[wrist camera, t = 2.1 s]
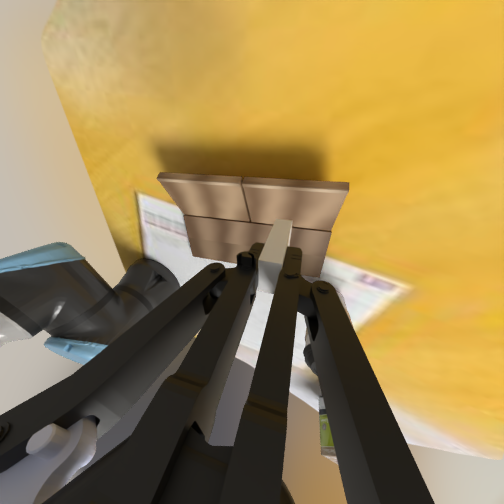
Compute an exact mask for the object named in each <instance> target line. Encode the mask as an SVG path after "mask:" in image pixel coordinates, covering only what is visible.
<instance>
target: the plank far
mask: <svg viewBox="0 0 504 504" xmlns="http://www.w3.org/2000/svg"><path fill="white" fill-rule="evenodd" d="M157 180H158V181H160V183H161V184H162V185H163V187H164V188H165V189H166V191H167V192H168V193H169V195H170V196H171V197H172V199H173V200H174V201H175V203H176V204H177V206H178V207H179V208H180V210H181V211H182V212H183V214H186V215H195V216H204V217H213V218H222V219H230V220H239V221H248V222H249V221H250V213H249V209H248V205H247V201H246V197H245V192H244V188H243V186H242V182H243V180H242V177H238V176H220V175H201V174H183V173H164V172H160V173H159V175H158V177H157Z"/></svg>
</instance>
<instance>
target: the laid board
mask: <svg viewBox="0 0 504 504" xmlns="http://www.w3.org/2000/svg"><path fill="white" fill-rule="evenodd" d="M184 220H185V224H186V229H187V233H188V237H189V242H190V246H191V250H192V255H193V256H194V257H200V258H206V259H212V260H218V261H224V262H230V263H235V264H237V256H236V255H237V254H238V253H240V252H244V251H249V250H250V248H251V246H252V245H253V244H254V243H256V242H259V243H266V241H267V239H268V236H269V234H270V232H271V229H272V227H273V225H274V224H266V223H257V222H251V220H250V221H249V222H248V221H239V220H230V219H222V218H213V217H204V216H195V215H186V214H185V215H184ZM331 233H332V232H331V231H328V230H319V229H311V228H302V227H293V226H292V229H291V237H290V245H289V246H290V247H297V248H300V249H301V250H302V262H301V275H306V276H312V277H318V278H319V277H320V274H321V270H322V266H323V263H324V259H325V255H326V251H327V248H328V244H329V240H330V237H331Z"/></svg>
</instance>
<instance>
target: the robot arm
mask: <svg viewBox="0 0 504 504" xmlns="http://www.w3.org/2000/svg"><path fill="white" fill-rule="evenodd" d="M291 229H292V221H291V220H282V219H276V220H275V222H274V225H273V227H272V229H271V232H270V234H269V236H268V239H267V241H266V243H259V242H256V243H254V244H253V245H252V246H251V248H250V250H249V251H244V252H240V253H238V254H237V255H236V256H237V266H236V267H235V268H225V267H224V265H223V264H221V263H211V264H209V265H207V266H206V267H205V268H204V269H202V270H201V271H200V272H199V273H197V274H196V275H195V276H194V277H192V278H191V279H190V280H189V281H187V282H186V283H185V284H184V285H183V286H181V287H180V286H179V283H178V281H177V279H176V278H175V276H174V275H173V274H172V273H171V272H170V271H169V270H168V269H167V268H166V267H164V266H163V265H161V264H160V263H158V262H155V261H153V260H149V259H140V260H137V261H136V262H135V263H133V264H132V265H131V266H130V267H129V268H128V270H127V272H126V274H125V275H124V276H123V278H122V279H121V281H120V282H119V284H117V285H116V286H115V287H114V288H113V289H112V288H111V287H110V286H109V284H108V283H107V282H106V281H105V280H104V279H103V278H102V277H101V276H100V275H99V274H98V273H97V272H96V271H95V269H93V267H92V266H91V265H90V264H89V263H88V262H87V261H86V260H85V257H83V256H81V255H80V254H79V253H78V252H77V251H76V250H75V249H74V248H73V247H72V246H71V245H69V244H67V243H63V242H56V243H51V244H48V245H45V246H41V247H38V248H34V249H31V250H28V251H24V252H21V253H18V254H15V255H12V256H9V257H5V258H3V259H0V347H1V346H2V345H4V344H5V343H8V342H11V341H16V340H23V339H30V338H32V337H33V336H34V335H36V334H37V333H39V332H40V331H42V330H45V331H47V332H48V333H49V334H50V335H51V337H49V338H48V339H47V341H46V342H45V343H44V345H45V347H47V348H48V349H50V350H51V351H53V352H55V353H57V354H59V355H61V356H63V357H65V358H68V359H70V360H72V361H75V362H78V363H80V364H83V365H84V366H82V367H81V368H80V369H79V370H77V371H76V372H75V373H74V374H72V375H71V376H69V377H67V378H66V379H64V380H62V381H60V382H59V383H57V384H55V385H53V386H52V387H50V388H48V389H46V390H44V391H43V392H41V393H39V394H37V395H36V396H34V397H32V398H30V399H29V400H27V401H25V402H23V403H22V404H20V405H18V406H16V407H15V408H13V409H11V410H9V411H7V412H5V413H4V414H2V415H0V504H295V503H294V500H293V498H292V496H291V494H290V492H289V490H288V488H287V487H286V485H285V483H284V482H283V480H282V472H283V462H284V451H285V440H286V430H287V407H288V396H289V387H290V377H291V367H292V357H293V347H294V338H295V328H296V318H297V312H299V313H301V314H303V315H304V317H305V322H306V326H307V330H308V335H309V339H310V343H311V348H312V352H313V357H314V361H315V365H316V370H317V374H318V378H319V383H320V387H321V391H322V396H323V400H324V404H325V409H326V413H327V417H328V422H329V426H330V431H331V435H332V439H333V444H334V448H335V452H336V457H337V461H338V465H339V470H340V474H341V478H342V482H343V487H344V491H345V496H346V500H347V503H348V504H435V503H434V501H433V499H432V497H431V495H430V492H429V490H428V488H427V486H426V484H425V482H424V480H423V478H422V475H421V473H420V471H419V469H418V467H417V464H416V462H415V460H414V458H413V456H412V454H411V451H410V449H409V447H408V445H407V443H406V441H405V438H404V436H403V434H402V432H401V430H400V428H399V426H398V423H397V421H396V419H395V417H394V415H393V413H392V410H391V408H390V406H389V404H388V402H387V400H386V397H385V395H384V393H383V391H382V389H381V387H380V385H379V382H378V380H377V378H376V376H375V374H374V372H373V369H372V367H371V365H370V363H369V361H368V359H367V356H366V354H365V352H364V350H363V348H362V346H361V344H360V341H359V339H358V337H357V335H356V333H355V331H354V328H353V326H352V324H351V322H350V320H349V318H348V315H347V313H346V311H345V309H344V307H343V305H342V303H341V300H340V298H339V296H338V294H337V292H336V290H335V288H334V287H333V285H331V284H330V283H328V282H325V281H315V282H313V283H310V282H308V281H306V280H305V279H304V278H303V277H302V276H301V262H302V250H301V249H300V248H297V247H290V246H289V245H290V237H291ZM257 287H258V291H261V292H266V293H271V294H274V296H273V300H272V304H271V308H270V312H269V316H268V320H267V324H266V328H265V332H264V336H263V340H262V344H261V348H260V352H259V356H258V360H257V364H256V368H255V372H254V376H253V380H252V384H251V388H250V392H249V396H248V399H247V401H246V403H245V405H244V408H243V412H242V415H241V419H240V423H239V427H238V431H237V434H236V438H235V442H234V446H212V445H209V444H208V441H209V438H210V435H211V432H212V429H213V426H214V421H215V416H216V410H217V407H218V404H219V400H220V398H221V395H222V392H223V389H224V386H225V383H226V381H227V378H228V375H229V372H230V369H231V366H232V363H233V361H234V358H235V355H236V352H237V349H238V346H239V343H240V340H241V338H242V335H243V332H244V329H245V326H246V323H247V320H248V318H249V315H250V312H251V309H252V306H253V303H254V300H255V297H256V290H257ZM200 329H201V330H200ZM199 330H200V332H199V334H198V335H197V337H196V339H195V341H194V343H193V344H192V346H191V348H190V350H189V351H188V353H187V355H186V357H185V358H184V360H183V362H182V364H181V365H180V367H179V369H178V370H177V372H176V373H175V374H173V375H171V376H169V377H168V378H167V379H165V381H164V382H163V383H162V385H161V386H160V388H159V389H158V391H157V393H156V394H155V396H154V398H153V400H152V401H151V403H150V405H149V406H148V408H147V409H146V411H145V413H144V415H143V416H142V418H141V420H140V421H139V423H138V425H137V426H136V428H135V430H134V431H133V433H132V435H131V436H129V437H128V438H127V439H126V440H124V441H123V442H121V443H120V444H119V445H117V446H116V447H115V448H114V449H112V450H111V451H110V452H108V453H107V454H106V455H104V456H103V457H102V458H101V459H100V460H98V461H97V462H95V463H94V464H93V465H91V466H90V467H89V468H87V469H86V470H85V471H83V472H82V473H81V474H80V475H78V476H77V477H76V478H74V479H73V480H72V481H71V482H69V483H68V484H67V485H66V483H67V482H68V480H69V479H70V478H71V477H72V476H73V474H74V473H75V472H76V471H77V470H78V469H79V468H81V467H84V466H85V465H86V464H87V463H89V461H90V460H91V459H92V458H93V456H94V453H95V451H96V445H95V443H96V440H97V439H99V438H100V437H101V436H102V435H104V434H105V433H106V432H107V431H108V430H109V429H110V428H112V427H113V426H114V425H115V424H116V423H117V422H118V421H119V420H120V419H121V418H122V417H123V416H124V415H125V414H126V413H127V412H128V411H129V410H130V408H132V406H133V405H134V404H135V403H136V402H137V401H138V400H139V399H140V397H141V396H142V395H143V394H144V393H145V392H146V391H147V389H148V388H149V387H150V386H151V385H152V384H153V383H154V382H155V380H156V379H157V378H158V377H159V376H160V375H161V374H162V372H163V371H164V370H165V369H166V368H167V367H168V366H169V364H170V363H171V362H172V361H173V360H174V359H175V358H176V356H177V355H178V354H179V353H180V352H181V351H182V350H183V348H184V347H185V346H186V345H187V344H188V343H189V342H190V341H191V339H192V338H193V337H194V336H195V335H196V334H197V333H198V331H199Z"/></svg>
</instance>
